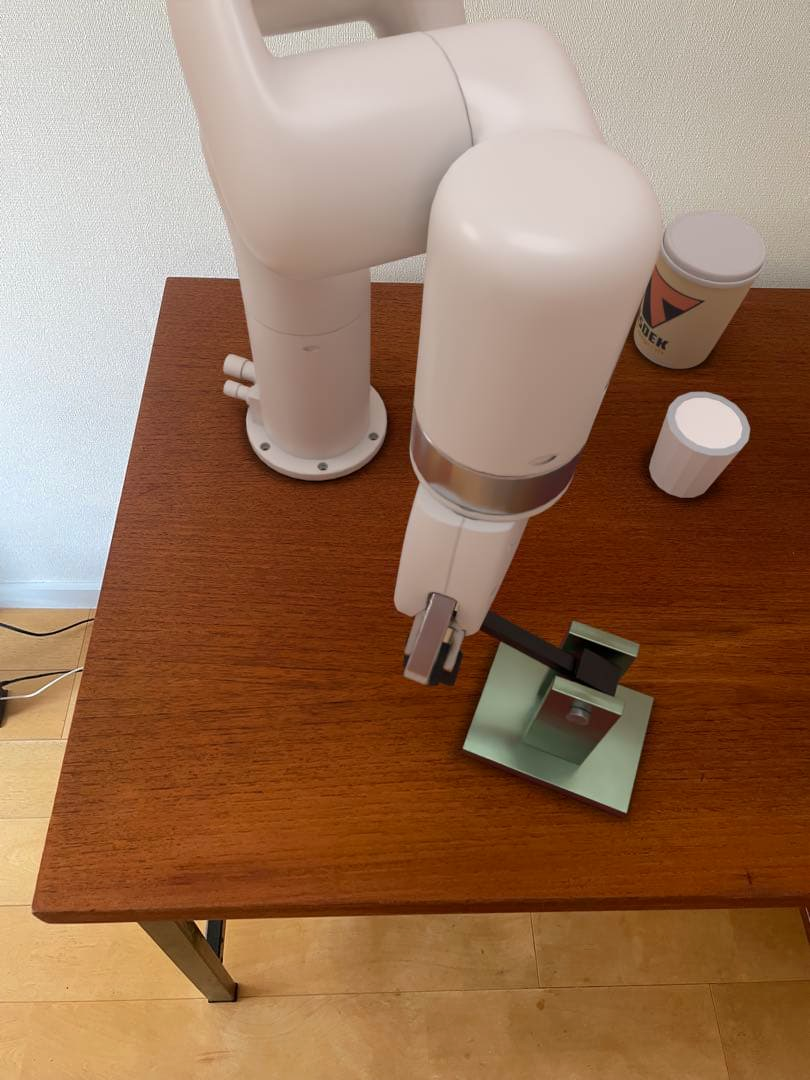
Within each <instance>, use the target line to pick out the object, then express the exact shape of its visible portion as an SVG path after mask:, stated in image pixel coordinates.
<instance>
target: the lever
mask: <svg viewBox="0 0 810 1080" xmlns="http://www.w3.org/2000/svg"><path fill="white" fill-rule="evenodd" d="M458 606H459V603H458V602H457V604H456V607H455V611H457V610H458ZM479 631H481V632H482V633H484V634H486V635H488V636H490V637H492V638H493V639H494V640H497V641H498V642H500V641H501V642H503V643H504V644H506V645H508V646H510V647H512V648H514V649H516V650H517V651H519V652H521V653H523V654H525V655H527V656H529V657H530V658H532V659H534V660H536V661H538V662H540V663H542V664H543V665H545V666H547V667H549V668H551V669H553V670H555V671H556V672H558V673H560V674H561V676H560V677H562V678H565V679H567V680H570V681H573V682H575V683H578V684H581V685H583V686H586V687H589V688H591V689H594V690H597V691H600V692H602V693H605V694H608V695H610V696H613V697H615V693H616V689H617V685H619V682H620V681H619V678H620V674H621V670H622V667H620V666H618V665H617V664H615V663H613V662H611V661H609V660H607V659H606V658H604V657H602V656H600V655H598V654H596V653H595V652H593V651H591V650H589V649H587V648H583V649H581V650H579V651H577V652H575V653H574V654H572V655H571V654H569V653H567V652H565V651H564V650H562V649H560V648H558V647H559V646H556V645H555V644H553V643H550V642H549V641H547V640H545V639H543V638H541V637H540V636H538V635H536V634H534V633H532V632H531V631H529V630H527V629H525V628H523V627H521V626H520V625H518V624H516V623H513V622H512V621H510V620H508V619H506V618H505V617H503V616H501V615H500V614H497V613H495V612H493V611H492V610H490V609H489V610H488V612H487V614H486V617H485V619H484V621H483V623H482V625H481V627H480V629H479ZM454 632H455V630H453V629H450V628H448V629H447V632H446V635H445V637H444V640H443V642H446V643H448V644H451V641H452V638H453V635H454ZM618 681H619V682H618Z"/></svg>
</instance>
